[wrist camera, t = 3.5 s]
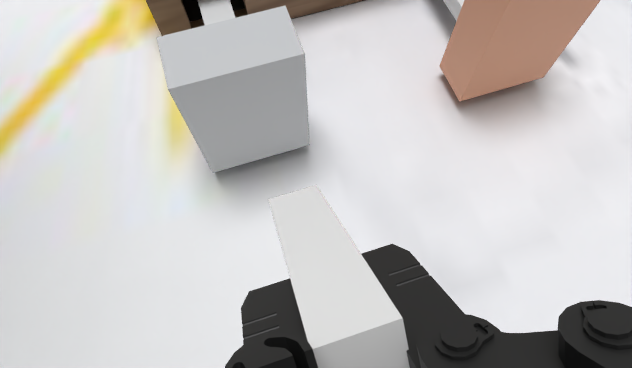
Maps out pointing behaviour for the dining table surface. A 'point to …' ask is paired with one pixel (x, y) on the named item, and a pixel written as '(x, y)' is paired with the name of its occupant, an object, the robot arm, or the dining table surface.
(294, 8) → the plunger housing
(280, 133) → the grey plunger
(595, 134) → the dining table surface
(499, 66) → the peach rectangular block
